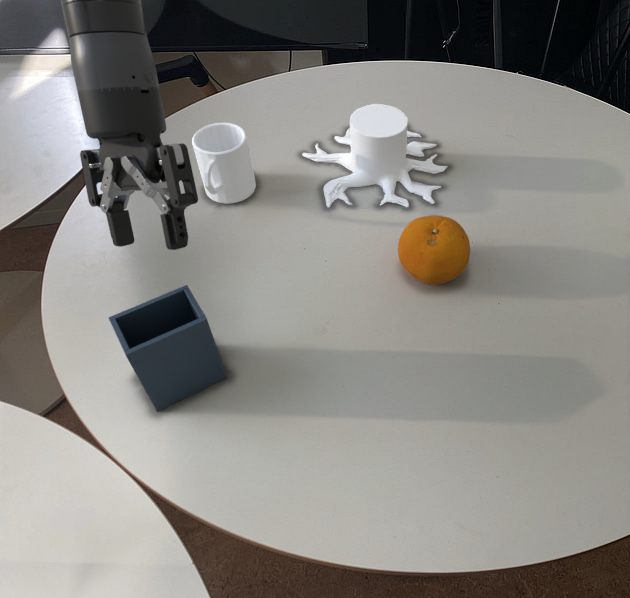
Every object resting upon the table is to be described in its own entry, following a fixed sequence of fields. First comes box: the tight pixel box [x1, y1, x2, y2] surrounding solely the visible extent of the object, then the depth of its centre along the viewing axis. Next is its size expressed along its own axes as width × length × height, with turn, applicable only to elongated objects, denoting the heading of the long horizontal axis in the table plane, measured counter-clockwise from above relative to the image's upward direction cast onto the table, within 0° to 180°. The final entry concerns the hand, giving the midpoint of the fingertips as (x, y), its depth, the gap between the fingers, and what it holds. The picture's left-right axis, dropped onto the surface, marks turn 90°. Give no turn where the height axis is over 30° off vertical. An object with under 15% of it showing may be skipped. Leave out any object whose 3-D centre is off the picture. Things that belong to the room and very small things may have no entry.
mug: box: [191, 122, 257, 205], centre depth 94 cm, size 8×12×10 cm
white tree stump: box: [301, 103, 449, 209], centre depth 100 cm, size 23×25×9 cm
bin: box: [108, 284, 228, 413], centre depth 71 cm, size 6×9×12 cm, turn 124°
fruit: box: [397, 214, 471, 286], centre depth 86 cm, size 10×10×8 cm
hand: (150, 246), depth 64 cm, fingers open, 8 cm apart
